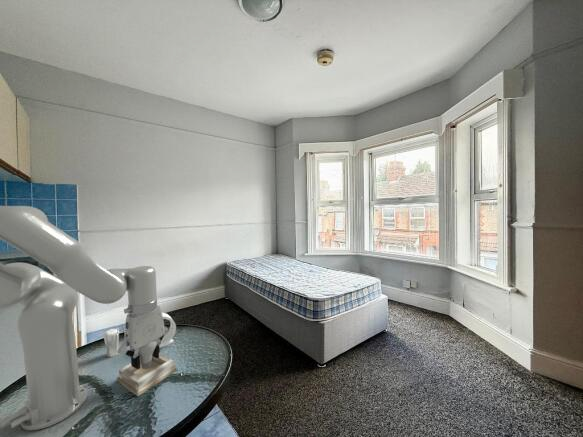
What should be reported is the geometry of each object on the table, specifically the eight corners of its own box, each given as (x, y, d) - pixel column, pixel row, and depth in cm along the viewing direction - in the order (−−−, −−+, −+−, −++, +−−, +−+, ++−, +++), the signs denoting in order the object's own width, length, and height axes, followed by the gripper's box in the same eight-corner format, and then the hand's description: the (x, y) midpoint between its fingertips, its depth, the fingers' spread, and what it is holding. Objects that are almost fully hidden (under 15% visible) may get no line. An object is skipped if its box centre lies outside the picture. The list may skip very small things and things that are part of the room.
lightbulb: (147, 376, 72) (146, 341, 71) (130, 373, 73) (129, 339, 72) (162, 363, 78) (161, 330, 77) (146, 361, 79) (145, 329, 78)
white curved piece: (156, 342, 93) (155, 313, 92) (173, 337, 97) (171, 308, 96) (159, 348, 90) (158, 317, 89) (176, 341, 94) (175, 312, 93)
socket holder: (137, 396, 67) (137, 384, 67) (116, 381, 73) (116, 370, 73) (176, 370, 78) (176, 360, 77) (155, 358, 84) (154, 349, 83)
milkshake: (114, 359, 84) (112, 331, 83) (101, 357, 85) (99, 330, 84) (125, 351, 88) (123, 325, 87) (113, 349, 89) (111, 324, 88)
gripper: (118, 321, 65) (122, 384, 66) (175, 299, 79) (178, 350, 81) (105, 315, 68) (109, 374, 69) (162, 294, 83) (164, 344, 84)
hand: (146, 361), depth 75 cm, fingers closed on lightbulb, 5 cm apart
